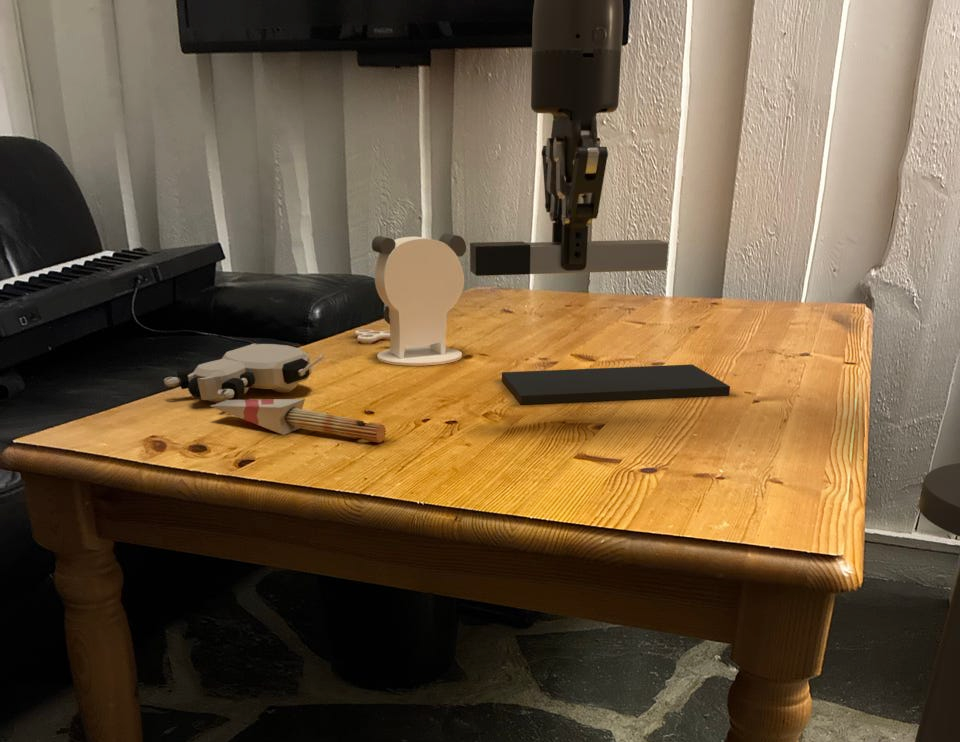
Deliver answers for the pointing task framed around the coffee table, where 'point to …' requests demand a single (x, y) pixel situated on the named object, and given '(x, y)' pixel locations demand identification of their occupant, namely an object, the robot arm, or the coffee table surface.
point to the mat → (612, 384)
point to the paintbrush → (299, 418)
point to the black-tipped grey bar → (548, 254)
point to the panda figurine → (419, 296)
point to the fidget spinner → (371, 335)
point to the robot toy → (246, 372)
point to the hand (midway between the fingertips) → (568, 266)
